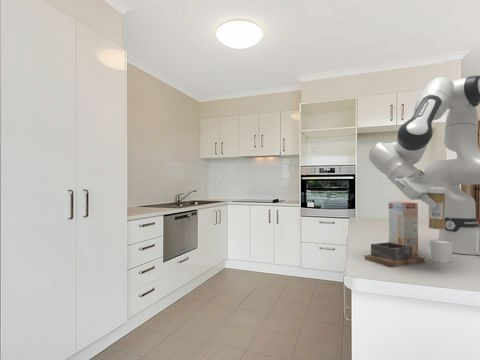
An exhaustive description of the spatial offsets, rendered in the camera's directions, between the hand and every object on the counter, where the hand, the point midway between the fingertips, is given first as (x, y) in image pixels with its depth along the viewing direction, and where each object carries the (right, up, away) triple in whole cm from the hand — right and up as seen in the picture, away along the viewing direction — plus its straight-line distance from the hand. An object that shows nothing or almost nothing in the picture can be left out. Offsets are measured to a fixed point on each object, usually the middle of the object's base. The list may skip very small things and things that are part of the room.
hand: (439, 206), depth 90 cm
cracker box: (+4, -22, +26) cm, 34 cm away
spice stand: (-8, -21, +11) cm, 25 cm away
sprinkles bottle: (-1, -8, 0) cm, 8 cm away
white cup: (+9, -21, +11) cm, 26 cm away
